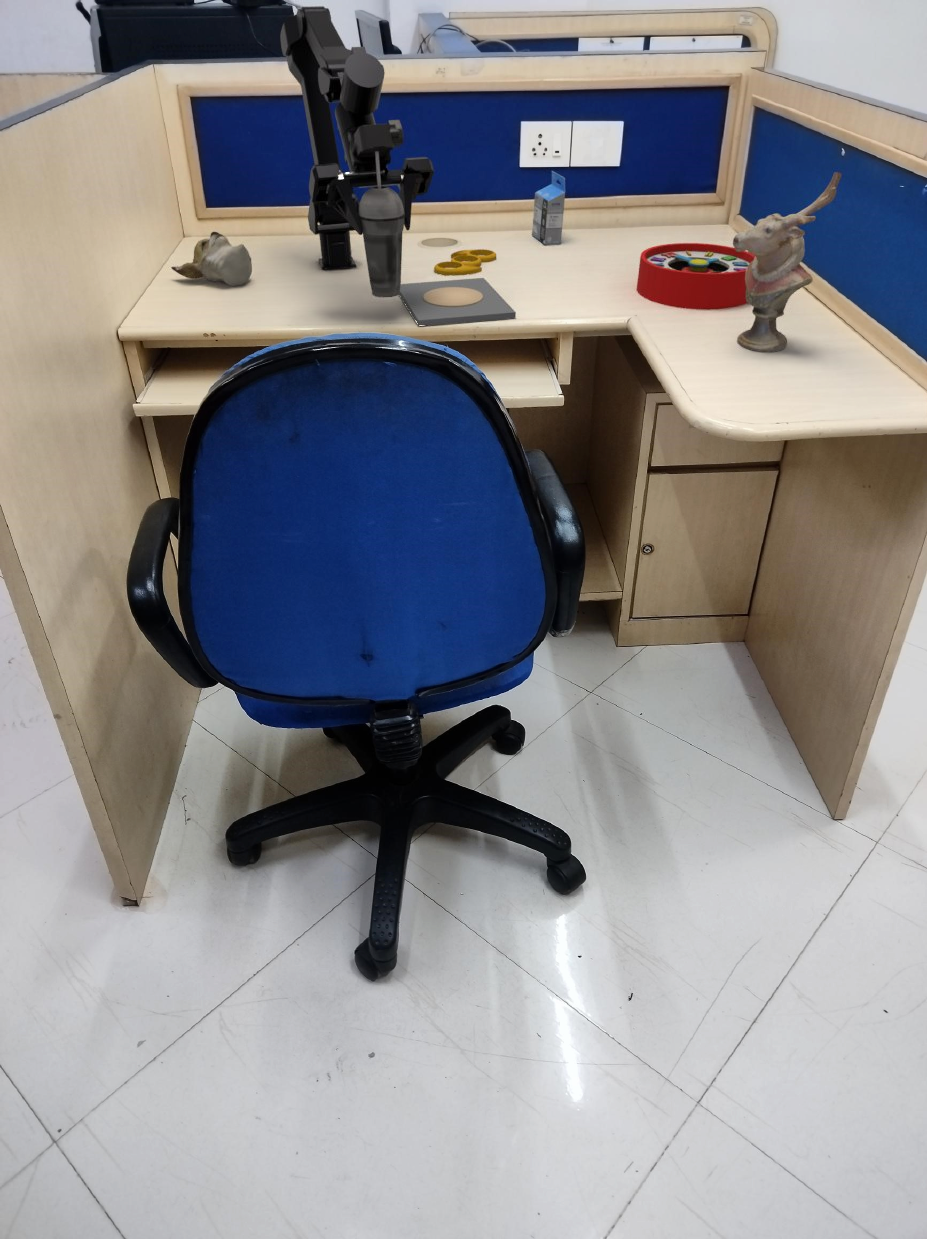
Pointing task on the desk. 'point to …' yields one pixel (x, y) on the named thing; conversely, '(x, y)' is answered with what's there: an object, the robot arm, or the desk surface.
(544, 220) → the label tape box
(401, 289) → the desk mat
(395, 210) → the beverage cup
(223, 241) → the ceramic sculpture
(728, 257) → the toy clock
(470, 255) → the yellow joined rings
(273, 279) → the desk surface
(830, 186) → the decorative bust
